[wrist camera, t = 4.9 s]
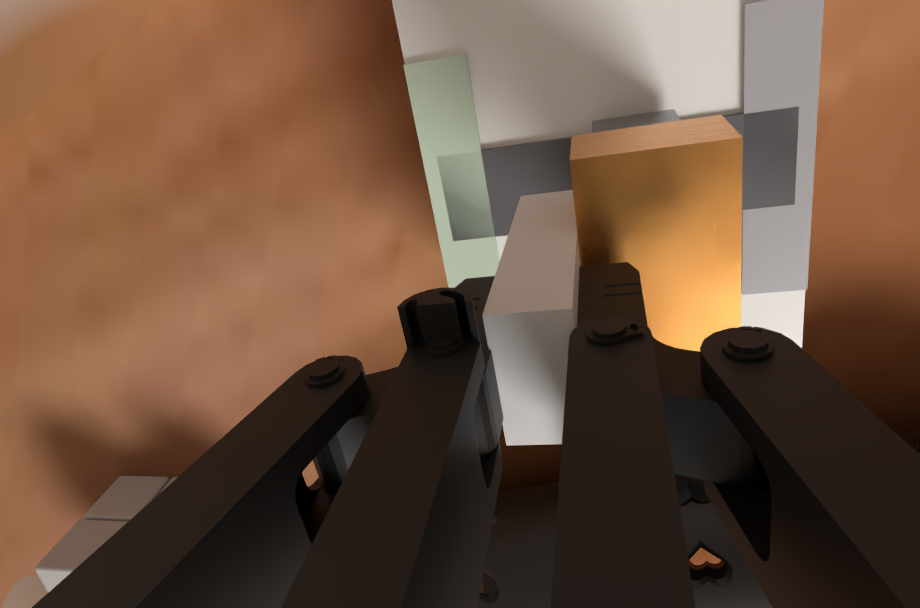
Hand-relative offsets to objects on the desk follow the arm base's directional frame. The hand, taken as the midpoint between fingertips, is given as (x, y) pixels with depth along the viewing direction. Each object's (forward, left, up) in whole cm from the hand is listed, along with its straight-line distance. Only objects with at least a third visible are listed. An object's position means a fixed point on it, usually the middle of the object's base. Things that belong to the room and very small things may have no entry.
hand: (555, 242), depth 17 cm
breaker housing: (-2, 0, -13) cm, 13 cm away
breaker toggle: (-2, 0, -5) cm, 5 cm away
